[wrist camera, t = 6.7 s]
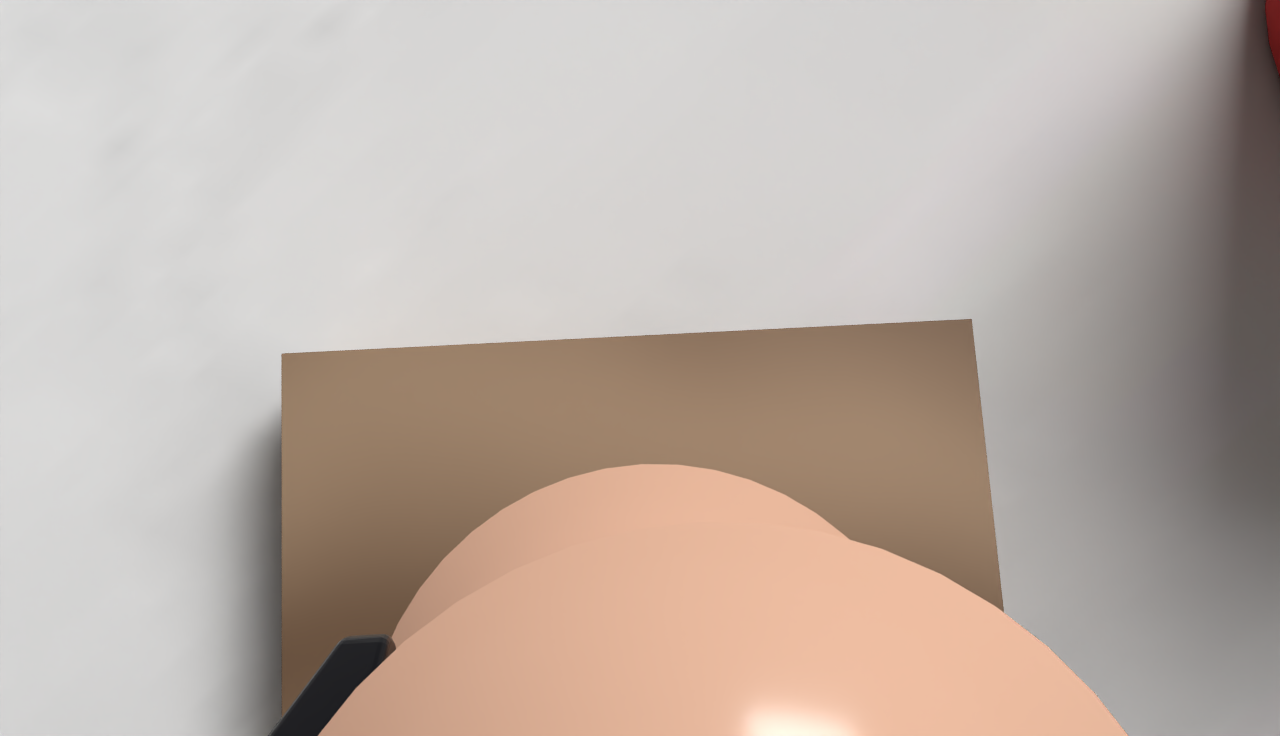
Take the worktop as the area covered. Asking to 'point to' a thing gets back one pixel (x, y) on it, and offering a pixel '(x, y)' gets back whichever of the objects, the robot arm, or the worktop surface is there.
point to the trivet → (617, 449)
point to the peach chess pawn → (702, 628)
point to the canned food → (1274, 29)
